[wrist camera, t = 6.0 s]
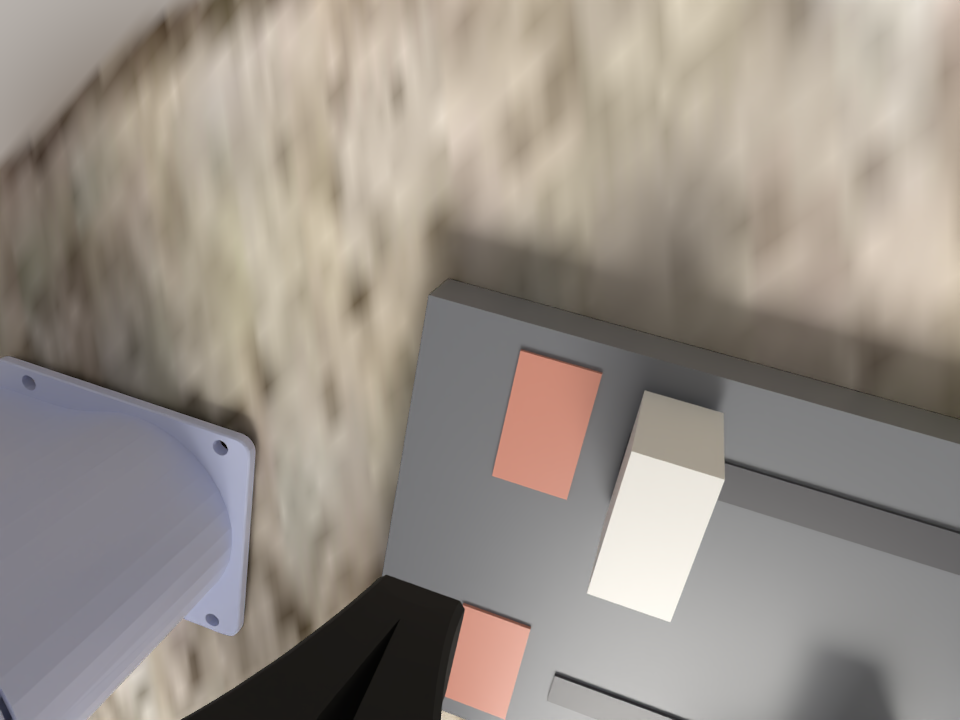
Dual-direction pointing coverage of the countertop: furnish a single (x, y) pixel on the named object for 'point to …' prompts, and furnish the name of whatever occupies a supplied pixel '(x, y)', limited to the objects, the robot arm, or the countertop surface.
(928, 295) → the countertop surface
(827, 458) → the breaker panel
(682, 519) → the block
